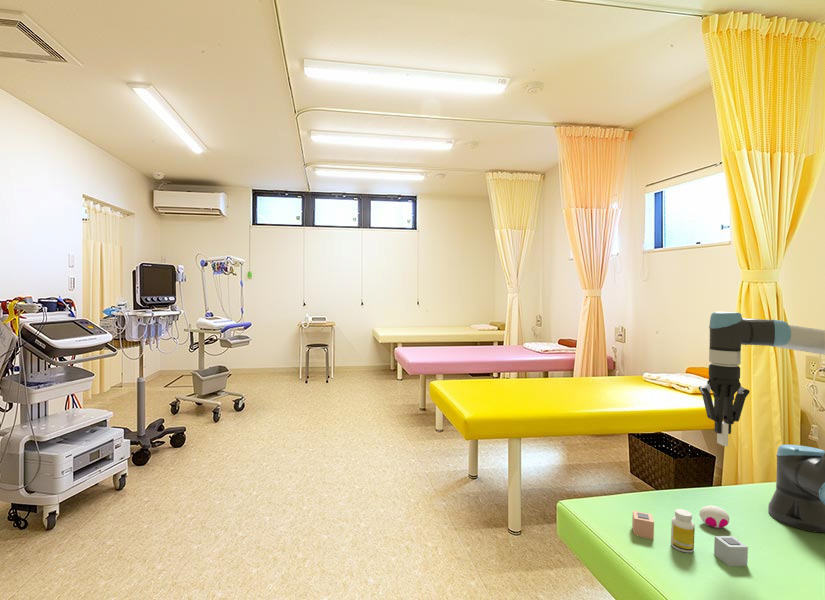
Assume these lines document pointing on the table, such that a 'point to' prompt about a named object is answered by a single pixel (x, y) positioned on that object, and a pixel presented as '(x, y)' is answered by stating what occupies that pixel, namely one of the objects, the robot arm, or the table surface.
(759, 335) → the robot arm
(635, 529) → the terracotta block
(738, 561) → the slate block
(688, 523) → the supplement bottle
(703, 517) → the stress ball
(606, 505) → the table surface
